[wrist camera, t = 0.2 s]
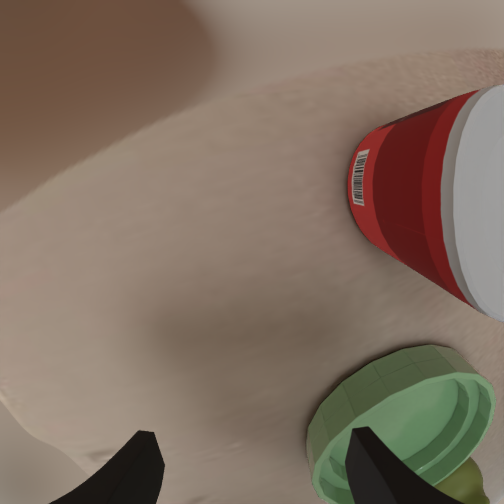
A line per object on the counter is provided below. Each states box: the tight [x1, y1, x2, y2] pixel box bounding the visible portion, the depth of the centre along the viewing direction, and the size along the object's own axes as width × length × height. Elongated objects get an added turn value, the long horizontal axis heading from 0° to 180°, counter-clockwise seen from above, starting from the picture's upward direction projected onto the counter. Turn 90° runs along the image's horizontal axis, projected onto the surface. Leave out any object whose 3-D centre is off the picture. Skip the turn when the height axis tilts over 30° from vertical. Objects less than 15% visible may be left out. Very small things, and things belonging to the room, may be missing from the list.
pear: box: [433, 457, 490, 504], centre depth 18 cm, size 6×5×10 cm
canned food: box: [348, 84, 504, 322], centre depth 12 cm, size 8×8×11 cm
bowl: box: [306, 345, 496, 504], centre depth 19 cm, size 15×15×4 cm
